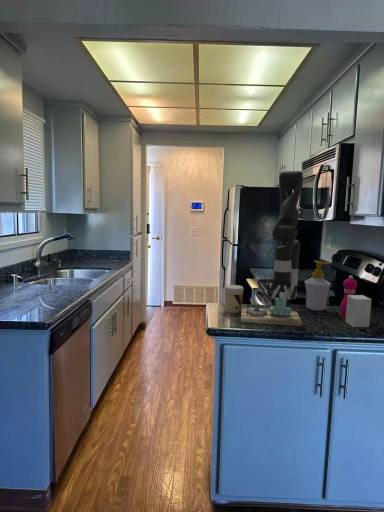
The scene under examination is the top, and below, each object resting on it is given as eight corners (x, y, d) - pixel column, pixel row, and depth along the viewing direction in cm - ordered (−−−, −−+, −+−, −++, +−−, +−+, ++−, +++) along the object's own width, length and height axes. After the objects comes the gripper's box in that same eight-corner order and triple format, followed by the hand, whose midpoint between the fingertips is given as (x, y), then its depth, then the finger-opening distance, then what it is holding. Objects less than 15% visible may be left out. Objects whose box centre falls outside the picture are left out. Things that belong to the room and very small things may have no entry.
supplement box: (360, 321, 159) (363, 294, 157) (369, 327, 151) (372, 299, 150) (344, 321, 158) (347, 294, 157) (352, 327, 151) (355, 298, 149)
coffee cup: (236, 314, 165) (237, 289, 164) (219, 310, 171) (220, 286, 169) (246, 310, 173) (247, 286, 171) (229, 306, 178) (230, 283, 177)
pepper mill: (346, 319, 161) (349, 277, 159) (335, 315, 168) (339, 274, 166) (359, 318, 163) (363, 276, 161) (348, 314, 170) (352, 273, 168)
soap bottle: (320, 314, 169) (324, 264, 166) (297, 308, 178) (300, 260, 175) (333, 309, 177) (337, 261, 174) (310, 304, 187) (313, 258, 183)
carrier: (241, 311, 170) (241, 298, 169) (296, 315, 166) (297, 302, 166) (240, 322, 155) (241, 307, 154) (301, 326, 151) (302, 311, 150)
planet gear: (268, 308, 165) (269, 296, 164) (289, 309, 163) (290, 297, 162) (270, 314, 155) (270, 301, 154) (292, 315, 154) (293, 302, 153)
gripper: (297, 269, 159) (295, 305, 162) (265, 267, 161) (263, 303, 164) (300, 272, 152) (297, 309, 154) (266, 270, 154) (264, 307, 156)
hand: (280, 306), depth 159 cm, fingers closed on planet gear, 5 cm apart
